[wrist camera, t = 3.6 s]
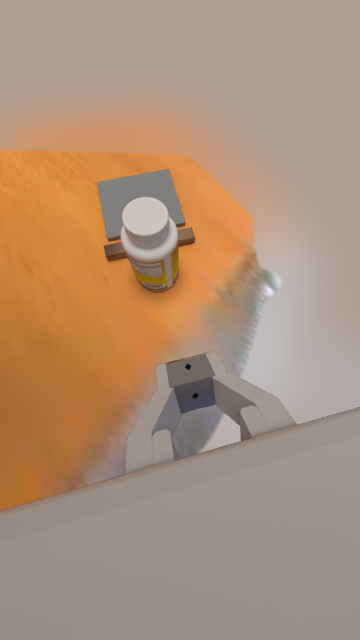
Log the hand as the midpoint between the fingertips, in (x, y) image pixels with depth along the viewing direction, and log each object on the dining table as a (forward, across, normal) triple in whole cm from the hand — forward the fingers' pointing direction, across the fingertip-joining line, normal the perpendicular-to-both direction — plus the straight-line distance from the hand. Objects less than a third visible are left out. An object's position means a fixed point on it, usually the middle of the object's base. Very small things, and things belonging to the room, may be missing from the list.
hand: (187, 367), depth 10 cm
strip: (+22, 0, -2) cm, 22 cm away
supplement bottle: (+19, 0, +1) cm, 19 cm away
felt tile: (+27, 0, -8) cm, 28 cm away
